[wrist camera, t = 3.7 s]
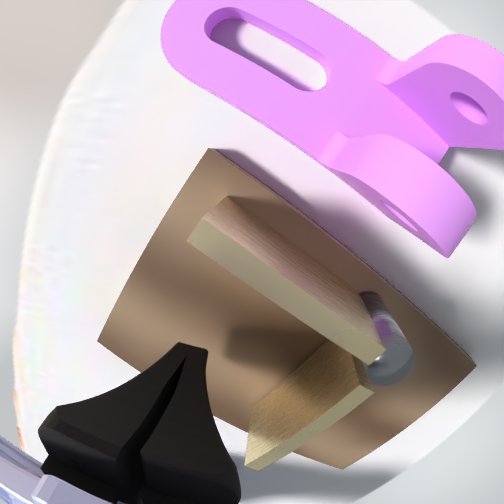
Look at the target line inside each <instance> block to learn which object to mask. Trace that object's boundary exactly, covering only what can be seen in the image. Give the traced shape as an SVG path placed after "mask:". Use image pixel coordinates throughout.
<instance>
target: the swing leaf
mask: <svg viewBox="0 0 504 504" xmlns="http://www.w3.org/2000/svg"><path fill="white" fill-rule="evenodd" d="M373 393H374V391H373V388H372V385H371V381H370V380H369V378H368V376H367V373H366V370H365V367H364V364H363V361H362V360H360V359H359V358H357V357H355V356H354V355H352V354H351V353H349V352H348V351H346V350H345V349H343V348H342V347H340V346H339V345H337V344H335V343H334V342H332V341H331V340H329V339H328V340H327V341H326V342H325V343H324V344H323V345H322V346H321V347H320V348H319V349H318V350H317V351H316V352H315V353H314V354H313V355H312V356H310V357H309V358H308V359H307V360H306V361H305V362H304V363H303V364H302V365H301V366H300V367H299V368H298V369H296V370H295V371H294V372H293V373H292V374H291V375H290V376H289V377H288V378H286V379H285V380H284V381H283V382H282V383H281V384H280V385H278V386H277V387H276V388H275V389H274V390H273V391H272V392H270V393H269V394H268V395H267V396H266V397H264V398H263V399H262V400H261V401H260V402H258V403H257V404H256V405H255V406H254V407H252V409H251V417H250V425H249V433H248V441H247V448H246V456H245V463H244V466H246V467H248V468H251V469H253V470H256V471H259V470H261V469H263V468H265V467H267V466H269V465H270V464H272V463H274V462H276V461H277V460H279V459H281V458H282V457H284V456H286V455H287V454H289V453H291V452H292V451H294V450H296V449H297V448H299V447H300V446H302V445H303V444H305V443H307V442H308V441H310V440H311V439H313V438H314V437H316V436H317V435H319V434H320V433H322V432H323V431H324V430H326V429H327V428H329V427H330V426H332V425H333V424H334V423H336V422H337V421H338V420H340V419H341V418H343V417H344V416H345V415H347V414H348V413H349V412H351V411H352V410H353V409H354V408H356V407H357V406H358V405H360V404H361V403H362V402H363V401H365V400H366V399H367V398H368V397H370V396H371V395H372V394H373Z"/></svg>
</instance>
